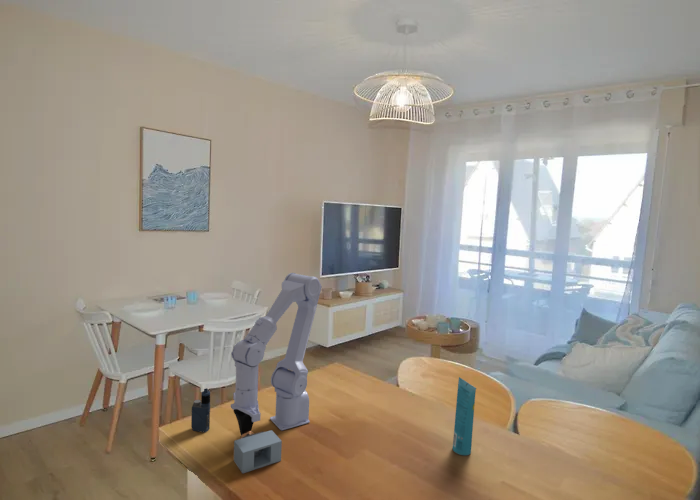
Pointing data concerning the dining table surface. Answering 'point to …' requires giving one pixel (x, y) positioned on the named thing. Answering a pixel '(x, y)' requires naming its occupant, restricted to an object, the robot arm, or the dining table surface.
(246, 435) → the peg
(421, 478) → the dining table surface
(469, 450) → the tube
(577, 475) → the dining table surface
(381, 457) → the dining table surface
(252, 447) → the sleeve block
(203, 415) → the vaping device
